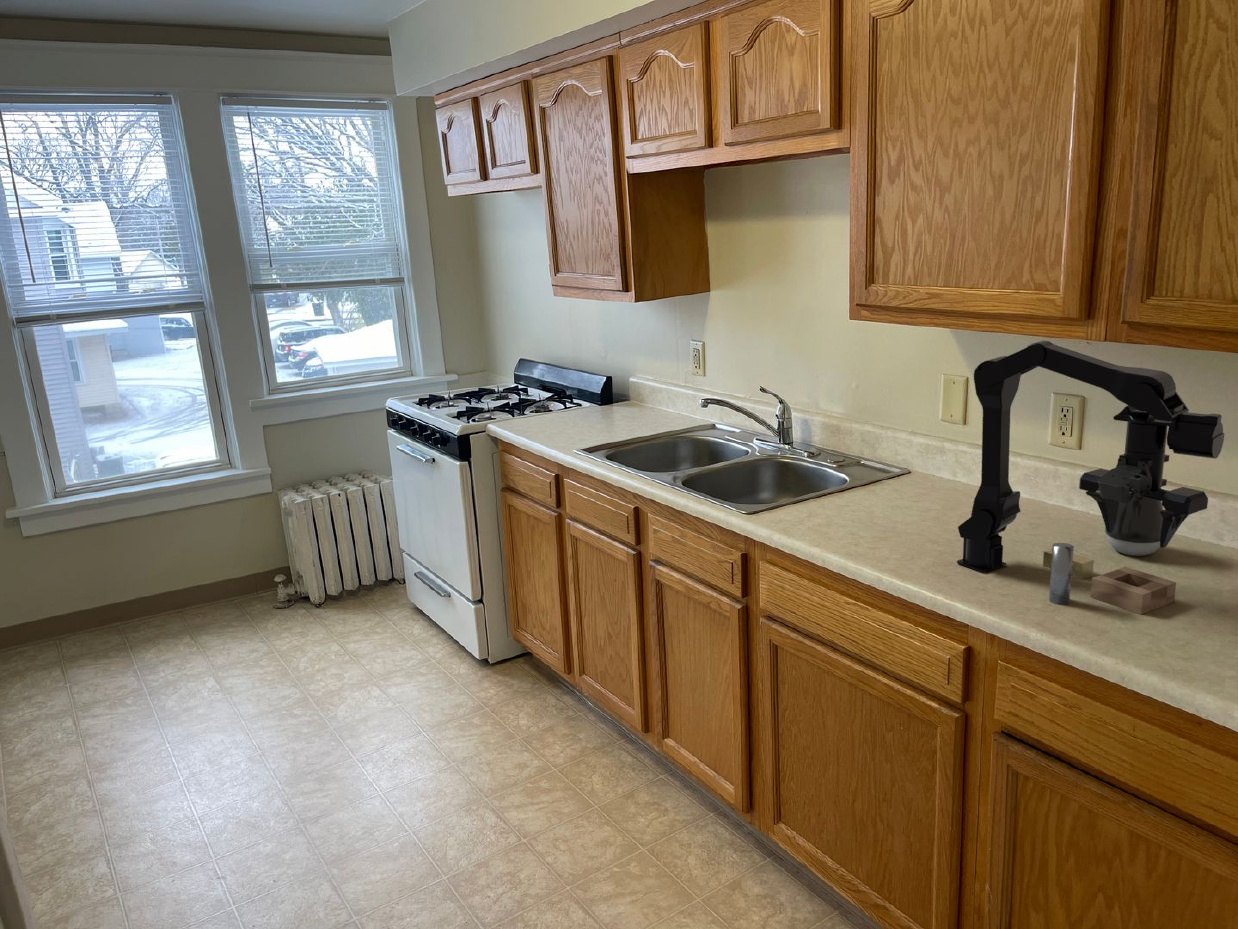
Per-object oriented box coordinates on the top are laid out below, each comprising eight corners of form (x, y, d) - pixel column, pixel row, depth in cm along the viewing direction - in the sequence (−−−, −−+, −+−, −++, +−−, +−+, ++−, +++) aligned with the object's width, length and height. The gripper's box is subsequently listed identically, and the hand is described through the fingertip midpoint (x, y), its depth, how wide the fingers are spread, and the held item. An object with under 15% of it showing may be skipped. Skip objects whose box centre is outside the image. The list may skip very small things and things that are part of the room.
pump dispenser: (1099, 556, 176) (1106, 480, 172) (1106, 539, 184) (1112, 466, 180) (1161, 564, 170) (1169, 486, 166) (1165, 547, 178) (1173, 471, 175)
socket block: (1090, 597, 158) (1092, 578, 157) (1123, 585, 162) (1125, 566, 161) (1141, 614, 150) (1142, 594, 149) (1174, 601, 154) (1176, 582, 153)
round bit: (1044, 600, 158) (1048, 545, 155) (1057, 595, 159) (1060, 541, 157) (1061, 606, 155) (1065, 550, 153) (1073, 601, 156) (1077, 546, 154)
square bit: (1042, 567, 173) (1043, 551, 172) (1054, 563, 174) (1055, 547, 173) (1081, 580, 166) (1082, 563, 165) (1092, 576, 167) (1093, 560, 166)
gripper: (1061, 446, 153) (1054, 534, 157) (1171, 469, 137) (1161, 566, 141) (1103, 436, 158) (1096, 521, 162) (1215, 457, 142) (1203, 551, 146)
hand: (1135, 539), depth 153 cm, fingers open, 9 cm apart
